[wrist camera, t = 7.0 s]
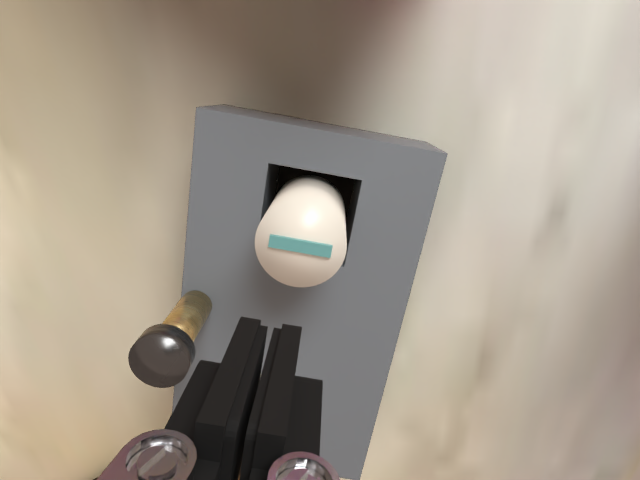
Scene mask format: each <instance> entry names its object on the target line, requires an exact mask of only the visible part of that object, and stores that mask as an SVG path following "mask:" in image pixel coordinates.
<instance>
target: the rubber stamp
mask: <svg viewBox="0 0 640 480" xmlns="http://www.w3.org/2000/svg"><path fill="white" fill-rule="evenodd" d="M211 310H212V302H211V300H210V298H209V297H208V296H207V295H206V294H205V293H203V292H201V291H196V290H193V291H189V292H187V293H185V294H184V295H183V297H182V298H181V299H180V301H179V302H178V303H177V305H176V306H175V307H174V309H173V310H172V311H171V313H170V314H169V315H168V317H167V318H166V319H165V321H164V322H163V323H162V324H158V325H154V326H151V327H149V328H148V329H147V330H145V331H144V332H143V334H142V335H141V336H140V337H139V339H138V340H137V341H136V342H135V344H134V345H133V346H132V348H131V349H130V352H129V357H128V359H129V365H130V368H131V370H132V371H133V373H134V374H135V375H136V377H137V378H139V379H140V380H141V381H142V382H144V383H146V384H148V385H150V386H154V387H159V388H166V387H171V386H174V385H176V384H178V383H180V382H181V381H182V380H183V379H184V377H185V376H186V374H187V372H188V370H189V368H190V366H191V365H192V363H193V361H194V358H195V346H194V343H193V342H194V340H195V338H196V337H197V335H198V333H199V331H200V330H201V328H202V326H203V324H204V323H205V321H206V319H207V317H208V316H209V314H210V312H211Z"/></svg>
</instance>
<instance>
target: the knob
mask: <svg viewBox="0 0 640 480" xmlns="http://www.w3.org/2000/svg"><path fill="white" fill-rule="evenodd" d="M346 250H347V238H346V220H345V205H344V201H343V198H342V195H341V194H340V192H339V190H338V189H337V188H336V187H335V186H334V185H333V184H332V183H331V182H330V181H328V180H326V179H324V178H322V177H319V176H315V175H303V176H299V177H296V178H293V179H291V180H290V181H288V182H287V183H286V184H284V185H283V187H282V188H281V189H280V190H279V192H278V193H277V195H276V197H275V198H274V200H273V202H272V203H271V205H270V207H269V208H268V210H267V212H266V213H265V215H264V217H263V218H262V220H261V222H260V224H259V225H258V228H257V231H256V235H255V251H256V255H257V258H258V260H259V262H260V264H261V266H262V267H263V268H264V270H265V271H266V272H267V273H268V274H269V275H270V276H271V277H272V278H274V279H275V280H277V281H279V282H281V283H283V284H285V285H288V286H293V287H312V286H316V285H318V284H321V283H323V282H325V281H327V280H328V279H330V278H331V277H332V276H333V275H334V274H335V273H336V272H337V271H338V270H339V268H340V267H341V265H342V263H343V261H344V259H345V255H346Z"/></svg>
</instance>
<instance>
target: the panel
mask: <svg viewBox="0 0 640 480" xmlns="http://www.w3.org/2000/svg"><path fill="white" fill-rule="evenodd" d="M446 157H447V153H446V152H444V151H442V150H440V149H438V148H437V147H435V146H433V145H431V144H429V143H428V142H424V141H419V140H413V139H408V138H403V137H397V136H392V135H386V134H381V133H375V132H370V131H365V130H359V129H354V128H348V127H343V126H337V125H332V124H327V123H321V122H316V121H310V120H305V119H300V118H294V117H289V116H283V115H278V114H272V113H267V112H262V111H256V110H251V109H245V108H240V107H235V106H229V105H214V106H204V107H196V117H195V129H194V142H193V155H192V168H191V180H190V193H189V206H188V218H187V231H186V244H185V257H184V269H183V282H182V295H181V298H182V297H183V295H184V294H185V293H187V292H189V291H193V290H196V291H201V292H203V293H205V294H206V295H207V296H208V297H209V298H210V300H211V302H212V310H211V312H210V314H209V316H208V317H207V319H206V321H205V323H204V324H203V326H202V328H201V330H200V331H199V333H198V335H197V337H196V338H195V340H194V342H193V343H194V346H195V358H194V361H193V363H192V365H191V366H190V368H189V370H188V372H187V374H186V376H185V377H184V379H183V380H182V381H181V382H180V383H178V384H176V385H174V396H173V409H172V413H173V411H174V409H175V407H176V405H177V403H178V401H179V399H180V397H181V396H182V394H183V392H184V390H185V388H186V386H187V384H188V382H189V380H190V378H191V376H192V374H193V372H194V370H195V368H196V366H197V364H198V363H199V361H200V360H206V361H212V362H218V363H221V362H222V359H223V357H224V355H225V352H226V350H227V348H228V345H229V343H230V341H231V338H232V336H233V334H234V331H235V329H236V327H237V324H238V322H239V320H240V317H247V318H253V319H259V320H261V325H262V326H268V329H267V336H266V343H265V349H264V356H263V363H262V369H261V374H262V370H263V366H264V362H265V359H266V355H267V351H268V347H269V344H270V340H271V336H272V332H273V329H274V328H280V329H281V328H282V324H288V325H294V326H300V327H302V331H301V338H300V345H299V352H298V359H297V366H296V373H295V376H301V377H307V378H313V379H319V380H322V381H323V391H322V413H321V435H320V457H322V458H324V459H325V460H326V461H327V462H329V463H330V464H331V465H332V466H333V468H334V469H335V470H336V472H337V473H338V476H339V477H340V478H346V479H352V480H360V477H361V473H362V469H363V466H364V462H365V458H366V455H367V451H368V447H369V443H370V440H371V436H372V432H373V429H374V425H375V421H376V417H377V414H378V410H379V406H380V403H381V399H382V395H383V391H384V388H385V384H386V380H387V377H388V373H389V369H390V365H391V362H392V358H393V354H394V351H395V347H396V343H397V339H398V336H399V332H400V328H401V325H402V321H403V317H404V313H405V310H406V306H407V302H408V299H409V295H410V291H411V287H412V284H413V280H414V276H415V273H416V269H417V265H418V261H419V258H420V254H421V250H422V247H423V243H424V239H425V235H426V232H427V228H428V224H429V221H430V217H431V213H432V209H433V206H434V202H435V198H436V195H437V191H438V187H439V183H440V180H441V176H442V172H443V169H444V165H445V161H446ZM279 165H281V166H287V167H292V168H298V169H303V170H309V171H314V172H320V173H325V174H331V175H336V176H342V177H347V178H353V179H355V180H354V185H353V190H352V195H351V200H350V205H349V210H348V215H347V220H346V238H347V250H346V255H345V259H344V261H343V263H342V265H341V267H340V268H339V270H338V271H337V272H336V273H335V274H334V275H333V276H332V277H331V278H330V279H328V280H327V281H325V282H323V283H321V284H318V285H316V286H312V287H293V286H288V285H285V284H283V283H281V282H279V281H277V280H275V279H274V278H272V277H271V276H270V275H269V274H268V273H267V272H266V271H265V270H264V268H263V267H262V266H261V264H260V262H259V260H258V258H257V255H256V251H255V235H256V231H257V228H258V225H259V224H260V222H261V220H262V218H263V217H264V215H265V213H266V212H267V210H268V208H269V207H270V205H271V203H272V202H273V200H274V198H275V192H276V185H277V178H278V171H279Z"/></svg>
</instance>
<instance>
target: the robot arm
mask: <svg viewBox="0 0 640 480" xmlns="http://www.w3.org/2000/svg"><path fill="white" fill-rule="evenodd" d="M267 329H268V326H262V325H261V320H259V319H253V318H247V317H240V320H239V322H238V324H237V327H236V329H235V331H234V334H233V336H232V338H231V341H230V343H229V345H228V348H227V350H226V352H225V355H224V357H223V359H222V362H221V363H218V362H212V361H206V360H200V361H199V363H198V364H197V366H196V368H195V370H194V372H193V374H192V376H191V378H190V380H189V382H188V384H187V386H186V388H185V390H184V392H183V394H182V396H181V397H180V399H179V401H178V403H177V405H176V407H175V409H174V411H173V413H172V415H171V417H170V419H169V421H168V423H167V425H166V427H165V429H161V430H152V431H149V432H145V433H142V434H140V435H139V436H137V437H135V438H133V439H132V440H131V441H129V442H128V443H127V444H126V445H125V446H124V447H123V448H122V449H121V451H120V452H119V453H118V454H117V455H116V457H115V458H114V459H113V460H112V462H111V463H110V464H109V465H108V466H107V468H106V469H105V470H104V471H103V473H102V474H101V475H100V476H99V477H98V478H97V479H95V480H238V478H239V480H340V479H339V476H338V473H337V472H336V470H335V469H334V468H333V466H332V465H331V464H330V463H329V462H327V461H326V460H325V459H324V458H322V457H320V435H321V413H322V391H323V381H322V380H319V379H313V378H307V377H301V376H295V373H296V366H297V359H298V352H299V345H300V338H301V331H302V327H300V326H294V325H288V324H282V328H281V329H280V328H274V329H273V332H272V336H271V340H270V344H269V347H268V351H267V355H266V359H265V362H264V366H263V370H262V374H261V369H262V363H263V356H264V349H265V343H266V336H267ZM260 376H261V377H260ZM240 470H241V471H240ZM239 474H240V477H239Z"/></svg>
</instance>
